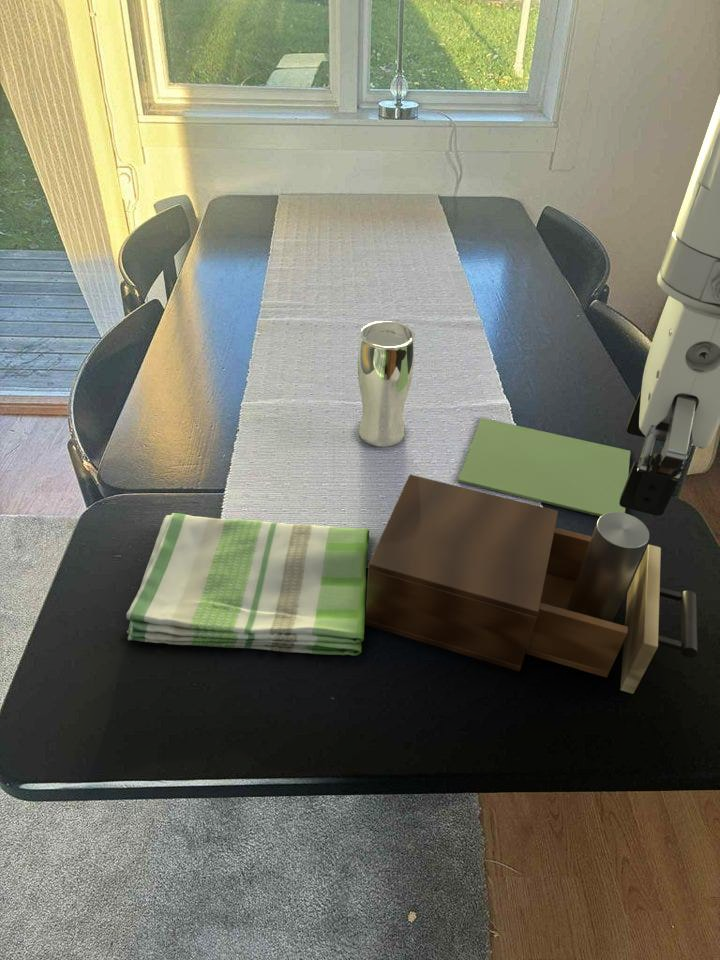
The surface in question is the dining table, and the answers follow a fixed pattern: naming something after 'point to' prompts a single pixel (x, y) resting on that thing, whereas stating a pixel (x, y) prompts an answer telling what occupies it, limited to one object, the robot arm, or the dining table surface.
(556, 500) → the placemat
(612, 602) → the silver metal cylinder
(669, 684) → the dining table surface
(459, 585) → the cabinet
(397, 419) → the beer glass
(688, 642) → the drawer
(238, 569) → the dish towel
